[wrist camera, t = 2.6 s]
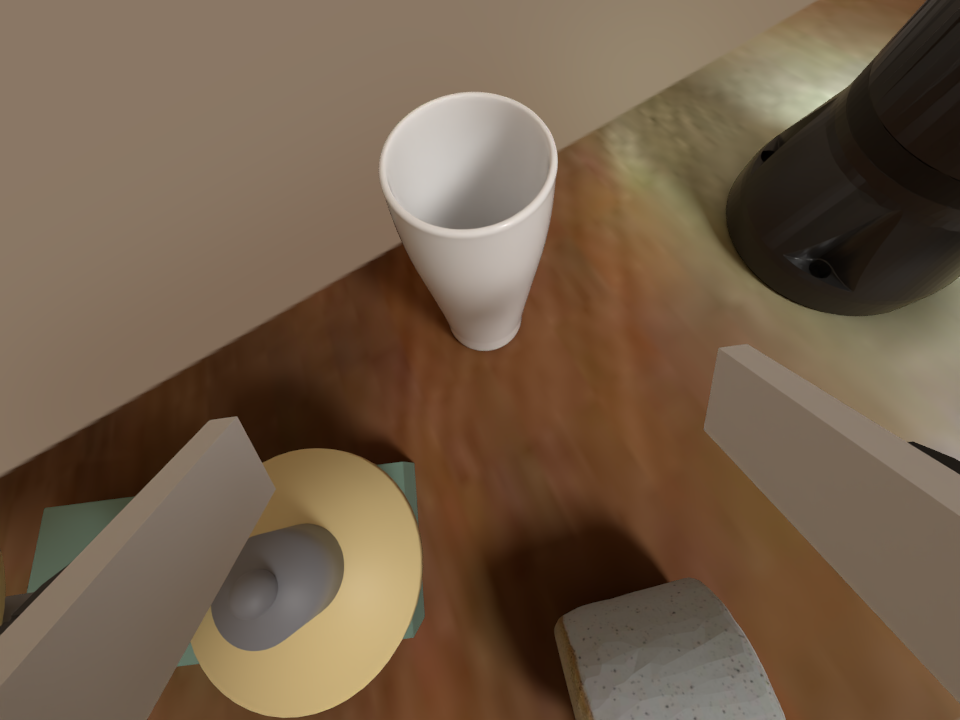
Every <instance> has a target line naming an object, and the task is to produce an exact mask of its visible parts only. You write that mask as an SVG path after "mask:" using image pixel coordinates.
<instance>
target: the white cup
mask: <svg viewBox="0 0 960 720" xmlns="http://www.w3.org/2000/svg"><path fill="white" fill-rule="evenodd" d="M557 166H558V157H557V149H556V145H555V142H554V139H553V137H552V134H551V132H550V131H549V129H548V127H547V126H546V124H545V123H544V122H543V121H542V120H541V118H540V117H539V116H538V115H536V113H534V112H533V111H532V110H531V109H529V108H528V107H526V106H525V105H523V104H521V103H520V102H517V101H515V100H513V99H510V98H508V97H505V96H501V95H498V94H493V93H486V92H462V93H455V94H450V95H446V96H442V97H439V98H436V99H433V100H431V101H429V102H427V103H425V104H423V105H421V106H419V107H417V108H416V109H414V110H413V111H411V112H410V113H409V114H407V115H406V116H405V117H404V118H403V119H402V120H401V121H400V122H399V123H398V124H397V125H396V126H395V128H394V129H393V130H392V132H391V133H390V134H389V136H388V138H387V140H386V142H385V144H384V146H383V149H382V152H381V155H380V160H379V179H380V185H381V188H382V191H383V194H384V196H385V199H386V202H387V205H388V208H389V211H390V214H391V216H392V219H393V222H394V224H395V227H396V229H397V232H398V234H399V237H400V239H401V241H402V243H403V246H404V248H405V250H406V252H407V254H408V256H409V258H410V260H411V262H412V263H413V265H414V267H415V269H416V270H417V272H418V274H419V275H420V277H421V279H422V280H423V282H424V284H425V285H426V287H427V288H428V290H429V292H430V293H431V295H432V296H433V298H434V300H435V301H436V303H437V305H438V306H439V308H440V310H441V311H442V313H443V315H444V316H445V318H446V320H447V321H448V323H449V326H450V329H451V331H452V333H453V334H454V336H455V337H456V338H457V340H458V341H459V342H461V343H462V344H463V345H465V346H467V347H468V348H471V349H474V350H478V351H491V350H495V349H498V348H501V347H503V346H504V345H506V344H507V343H509V342H510V341H511V340H512V339H513V338H514V336H515V335H516V334H517V332H518V330H519V328H520V325H521V320H522V313H523V310H524V307H525V304H526V300H527V297H528V294H529V291H530V288H531V285H532V282H533V279H534V277H535V274H536V271H537V268H538V265H539V262H540V259H541V255H542V252H543V249H544V246H545V242H546V238H547V234H548V229H549V224H550V219H551V214H552V207H553V200H554V192H555V183H556V174H557Z"/></svg>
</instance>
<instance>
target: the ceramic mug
mask: <svg viewBox="0 0 960 720" xmlns="http://www.w3.org/2000/svg"><path fill="white" fill-rule="evenodd" d="M554 635H555V639H556V643H557V647H558V651H559V655H560V659H561V663H562V668H563V672H564V676H565V680H566V684H567V688H568V692H569V695H570V699H571V703H572V707H573V711H574V715H575V720H786V719H785V716H784V713H783V711H782V708H781V706H780V704H779V701H778V699H777V697H776V695H775V693H774V691H773V688H772V686H771V684H770V682H769V679H768V677H767V675H766V672H765V670H764V668H763V666H762V664H761V662H760V660H759V658H758V656H757V654H756V652H755V650H754V649H753V647H752V645H751V644H750V642H749V640H748V639H747V637H746V635H745V634H744V632H743V631H742V629H741V628H740V627H739V625H738V624H737V623H736V621H735V620H734V619H733V617H732V615H731V614H730V612H729V611H728V609H727V608H726V606H725V605H724V604H723V603H722V602H721V600H720V599H719V598H718V597H717V596H716V595H715V594H714V593H713V592H712V591H711V590H710V589H709V588H708V587H706V586H705V585H704V584H703V583H702V582H700V581H699V580H697V579H693V578H684V579H680V580H676V581H673V582H669V583H665V584H662V585H658V586H654V587H651V588H647V589H643V590H639V591H635V592H632V593H629V594H625V595H622V596H619V597H615V598H612V599H608V600H603V601H599V602H594V603H590V604H587V605H583V606H580V607H578V608H576V609H574V610H572V611H570V612H568V613H566V614H565V615H563V616H561V617H560V618H559V619H558V621H557V623H556V625H555V628H554Z"/></svg>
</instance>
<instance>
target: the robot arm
mask: <svg viewBox="0 0 960 720" xmlns="http://www.w3.org/2000/svg"><path fill="white" fill-rule="evenodd" d="M726 215H727V225H728V229H729V233H730V236H731V239H732V241H733V243H734V246H735V247H736V249H737V251H738V253H739V254H740V256H741V258H742V259H743V260H744V262H745V263H746V264H747V266H748V267H749V268H750V269H751V270H752V271H753V272H754V273H755V274H756V275H757V276H758V277H759V278H760V279H761V280H762V281H763V282H765V283H766V284H767V285H768V286H770V287H771V288H772V289H774V290H775V291H777V292H778V293H780V294H782V295H783V296H785V297H787V298H789V299H791V300H793V301H795V302H797V303H799V304H801V305H804V306H806V307H809V308H812V309H815V310H819V311H822V312H827V313H831V314H837V315H846V316H868V315H876V314H882V313H886V312H890V311H893V310H896V309H899V308H901V307H903V306H906V305H908V304H911V303H913V302H915V301H918V300H920V299H923V298H925V297H927V296H930V295H932V294H934V293H936V292H937V291H939V290H941V289H943V288H944V287H946V286H947V285H949V284H950V283H952V282H953V281H954V280H955V279H957V278H958V277H959V276H960V0H927V1H926V2H925V3H924V4H923V5H922V6H921V7H920V8H919V9H918V10H917V12H916V13H915V14H914V15H913V16H912V17H911V18H910V19H909V20H908V21H907V23H906V24H905V25H904V26H903V27H902V28H901V29H900V30H899V31H898V32H897V34H896V35H895V36H894V37H893V38H892V39H891V40H890V41H889V42H888V43H887V45H886V46H885V47H884V48H883V49H882V50H881V51H880V52H879V54H878V55H877V56H876V57H875V58H874V59H873V60H872V61H871V63H870V64H869V65H868V66H867V67H866V68H865V69H864V70H863V71H862V73H861V74H860V75H859V76H858V77H857V78H856V79H855V80H854V81H853V82H852V83H851V84H850V85H849V86H848V87H847V88H845V89H844V90H842V91H841V92H840V93H838V94H837V95H835V96H834V97H832V98H831V99H830V100H828V101H827V102H825V103H824V104H823V105H821V106H820V107H818V108H817V109H815V110H814V111H813V112H811V113H810V114H808V115H807V116H805V117H804V118H803V119H801V120H800V121H798V122H797V123H795V124H794V125H793V126H791V127H790V128H788V129H787V130H785V131H784V132H782V133H781V134H780V135H778V136H777V137H775V138H774V139H773V140H771V141H770V142H769V143H767V144H766V145H765V146H764V147H763V148H762V149H761V150H760V151H759V152H758V153H757V154H756V155H755V156H754V157H753V159H752V160H751V161H750V162H749V164H748V165H747V166H746V167H745V169H744V170H743V171H742V172H741V174H740V175H739V176H738V178H737V179H736V181H735V182H734V184H733V186H732V188H731V190H730V193H729V197H728V201H727V210H726ZM704 430H705V431H706V433H707V434H708V435H709V436H710V437H711V438H712V439H713V440H714V441H715V442H716V443H717V444H718V445H719V446H720V448H721V449H722V450H723V451H724V452H725V453H726V454H727V455H728V456H729V457H730V458H731V459H732V460H733V461H734V463H735V464H736V465H737V466H738V467H739V468H740V469H741V470H742V471H743V472H744V473H745V474H746V475H747V476H748V477H749V479H750V480H751V481H752V482H753V483H754V484H755V485H756V486H757V487H758V488H759V489H760V490H761V491H762V492H763V494H764V495H765V496H766V497H767V498H768V499H769V500H770V501H771V502H772V503H773V504H774V505H775V506H776V507H777V509H778V510H779V511H780V512H781V513H782V514H783V515H784V516H785V517H786V518H787V519H788V520H789V521H790V522H791V523H792V525H793V526H794V527H795V528H796V529H797V530H798V531H799V532H800V533H801V534H802V535H803V536H804V537H805V538H806V540H807V541H808V542H809V543H810V544H811V545H812V546H813V547H814V548H815V549H816V550H817V551H818V552H819V553H820V554H821V556H822V557H823V558H824V559H825V560H826V561H827V562H828V563H829V564H830V565H831V566H832V567H833V568H834V569H835V571H836V572H837V573H838V574H839V575H840V576H841V577H842V578H843V579H844V580H845V581H846V582H847V583H848V584H849V586H850V587H851V588H852V589H853V590H854V591H855V592H856V593H857V594H858V595H859V596H860V597H861V598H862V599H863V600H864V602H865V603H866V604H867V605H868V606H869V607H870V608H871V609H872V610H873V611H874V612H875V613H876V614H877V615H878V617H879V618H880V619H881V620H882V621H883V622H884V623H885V624H886V625H887V626H888V627H889V628H890V629H891V630H892V632H893V633H894V634H895V635H896V636H897V637H898V638H899V639H900V640H901V641H902V642H903V643H904V644H905V645H906V646H907V648H908V649H909V650H910V651H911V652H912V653H913V654H914V655H915V656H916V657H917V658H918V659H919V660H920V661H921V663H922V664H923V665H924V666H925V667H926V668H927V669H928V670H929V671H930V672H931V673H932V674H933V675H934V676H935V678H936V679H937V680H938V681H939V682H940V683H941V684H942V685H943V686H944V687H945V688H946V689H947V690H948V691H949V692H950V694H951V695H952V696H953V697H954V698H955V699H956V700H957V701H958V702H959V703H960V461H958V460H956V459H955V458H952V457H950V456H947V455H945V454H942V453H940V452H938V451H935V450H933V449H930V448H928V447H925V446H923V445H920V444H918V443H915V442H906V441H904V440H903V439H901V438H899V437H898V436H896V435H894V434H893V433H891V432H890V431H888V430H886V429H885V428H883V427H881V426H880V425H878V424H877V423H875V422H873V421H872V420H870V419H868V418H867V417H865V416H864V415H862V414H860V413H859V412H857V411H855V410H854V409H852V408H851V407H849V406H847V405H846V404H844V403H842V402H841V401H839V400H838V399H836V398H834V397H833V396H831V395H829V394H828V393H826V392H824V391H823V390H821V389H820V388H818V387H816V386H815V385H813V384H811V383H810V382H808V381H807V380H805V379H803V378H802V377H800V376H798V375H797V374H795V373H794V372H792V371H790V370H789V369H787V368H785V367H784V366H782V365H781V364H779V363H777V362H776V361H774V360H772V359H771V358H769V357H768V356H766V355H764V354H763V353H761V352H759V351H758V350H756V349H755V348H753V347H751V346H750V345H748V344H743V345H736V346H729V347H722V348H718V354H717V359H716V365H715V370H714V376H713V381H712V387H711V392H710V398H709V403H708V408H707V414H706V419H705V425H704ZM275 490H276V488H275V486H274V485H273V483H272V481H271V479H270V477H269V475H268V473H267V471H266V469H265V468H264V466H263V464H262V462H261V460H260V458H259V456H258V454H257V453H256V451H255V449H254V447H253V445H252V443H251V441H250V439H249V438H248V436H247V434H246V432H245V430H244V428H243V426H242V424H241V423H240V421H239V419H238V417H237V416H235V417H228V418H221V419H214V420H209V421H208V422H207V423H206V424H205V425H204V426H203V427H202V428H201V429H200V430H199V432H198V433H197V434H196V435H195V436H194V437H193V438H192V439H191V440H190V441H189V442H188V443H187V444H186V445H185V446H184V447H183V448H182V449H181V450H180V451H179V452H178V453H177V454H176V455H175V456H174V457H173V458H172V459H171V460H170V461H169V462H168V463H167V464H166V465H165V466H164V468H163V469H162V470H161V471H160V472H159V473H158V474H157V475H156V476H155V477H154V478H153V479H152V480H151V481H150V482H149V483H148V484H147V485H146V486H145V487H144V488H143V489H142V490H141V491H140V492H139V493H138V494H137V495H136V496H135V497H134V498H133V499H132V500H131V501H130V502H129V504H128V505H127V506H126V507H125V508H124V509H123V510H122V511H121V512H120V513H119V514H118V515H117V516H116V517H115V518H114V519H113V520H112V521H111V522H110V523H109V524H108V525H107V526H106V527H105V528H104V529H103V530H102V531H101V532H100V533H99V534H98V535H97V536H96V537H95V538H94V540H93V541H92V542H91V543H90V544H89V545H88V546H87V547H86V548H85V549H84V550H83V551H82V552H81V553H80V554H79V555H78V556H77V557H76V558H75V559H74V560H73V561H72V562H71V563H70V564H68V565H67V566H66V567H64V568H63V569H62V570H60V571H59V572H58V573H57V574H55V575H54V576H53V577H51V578H50V579H49V580H47V581H46V582H45V583H43V584H42V585H41V586H40V587H39V588H38V589H37V590H36V591H35V592H34V593H33V594H32V595H31V596H30V597H29V598H28V599H27V600H26V601H25V602H24V603H23V604H22V605H21V606H20V607H19V608H18V609H17V610H16V611H15V612H14V613H13V614H12V615H11V620H10V621H9V622H4V623H3V624H2V625H1V626H0V720H147V718H148V717H149V715H150V713H151V711H152V709H153V708H154V706H155V704H156V702H157V700H158V699H159V697H160V695H161V693H162V692H163V690H164V688H165V686H166V684H167V683H168V681H169V679H170V677H171V675H172V674H173V672H174V670H175V668H176V667H177V665H178V663H179V661H180V659H181V658H182V656H183V654H184V652H185V650H186V649H187V647H188V645H189V643H190V642H191V640H192V638H193V636H194V634H195V633H196V631H197V629H198V627H199V625H200V624H201V622H202V620H203V618H204V617H205V615H206V613H207V611H208V609H209V608H210V606H211V604H212V602H213V600H214V599H215V597H216V595H217V593H218V592H219V590H220V588H221V586H222V584H223V583H224V581H225V579H226V577H227V575H228V574H229V572H230V570H231V568H232V567H233V565H234V563H235V561H236V559H237V558H238V556H239V554H240V552H241V550H242V549H243V547H244V545H245V543H246V542H247V540H248V538H249V536H250V534H251V533H252V531H253V529H254V527H255V525H256V524H257V522H258V520H259V518H260V517H261V515H262V513H263V511H264V509H265V508H266V506H267V504H268V502H269V500H270V499H271V497H272V495H273V493H274V492H275Z"/></svg>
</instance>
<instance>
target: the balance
mask: <svg viewBox="0 0 960 720" xmlns="http://www.w3.org/2000/svg"><path fill="white" fill-rule="evenodd" d="M262 464H263V466H264V468H265V469H266V471H267V473H268V475H269V477H270V479H271V481H272V483H273V485H274V486H275V488H276V490H275V492H274V493H273V495H272V497H271V499H270V500H269V502H268V504H267V506H266V508H265V509H264V511H263V513H262V515H261V517H260V518H259V520H258V522H257V524H256V525H255V527H254V529H253V531H252V533H251V534H250V536H249V538H248V540H247V542H246V543H245V545H244V547H243V549H242V550H241V552H240V554H239V556H238V558H237V559H236V561H235V563H234V565H233V567H232V568H231V570H230V572H229V574H228V575H227V577H226V579H225V581H224V583H223V584H222V586H221V588H220V590H219V592H218V593H217V595H216V597H215V599H214V600H213V602H212V604H211V606H210V608H209V609H208V611H207V613H206V615H205V617H204V618H203V620H202V622H201V624H200V625H199V627H198V629H197V631H196V633H195V634H194V636H193V638H192V640H191V642H190V643H189V645H188V647H187V649H186V650H185V652H184V654H183V656H182V658H181V659H180V661H179V663H178V665H177V666H184V665H192V664H200V666H201V668H202V669H203V671H204V672H205V673H206V675H207V676H208V678H209V679H210V681H211V682H212V683H213V684H214V685H215V686H216V687H217V688H218V689H219V690H220V691H221V692H222V693H223V694H224V695H225V696H227V697H228V698H229V699H231V700H232V701H233V702H235V703H236V704H238V705H240V706H242V707H244V708H246V709H248V710H250V711H253V712H256V713H259V714H263V715H266V716H274V717H281V718H286V717H302V716H307V715H312V714H316V713H319V712H322V711H325V710H327V709H330V708H333V707H335V706H336V705H338V704H340V703H342V702H344V701H346V700H348V699H349V698H351V697H352V696H353V695H355V694H356V693H357V692H359V691H360V690H361V689H363V688H364V687H365V686H366V685H367V684H368V683H369V682H370V681H371V680H372V679H373V678H374V677H376V676H377V674H378V673H379V672H380V671H381V670H382V668H383V667H384V666H385V665H386V663H387V662H388V661H389V660H390V658H391V656H392V655H393V653H394V652H395V650H396V649H397V647H398V645H399V644H400V642H401V640H402V639H406V638H414V636H415V634H416V632H417V630H418V628H419V626H420V625H421V623H422V621H423V619H424V617H425V614H424V599H423V585H422V575H423V549H422V541H421V535H420V531H419V526H418V512H417V497H416V483H415V468H414V463H410V462H396V463H389V464H381V465H376V464H374V463H372V462H370V461H368V460H367V459H365V458H363V457H360V456H358V455H355V454H352V453H349V452H344V451H340V450H334V449H323V448H311V449H301V450H296V451H291V452H287V453H284V454H281V455H278V456H275V457H273V458H271V459H269V460H267V461H265V462H263V463H262ZM134 497H135V496H134ZM134 497H126V498H119V499H111V500H103V501H96V502H88V503H80V504H72V505H65V506H57V507H49V508H44V512H43V517H42V522H41V527H40V531H39V536H38V541H37V546H36V551H35V556H34V561H33V565H32V570H31V575H30V580H29V585H28V590H27V593H26V594H20V595H14V596H8V597H5V590H6V584H5V570H4V563H3V558H2V554H1V549H0V626H1V625H2V624H3V623H4V622H9V621H10V620H11V615H12V614H13V613H14V612H15V611H16V610H17V609H18V608H19V607H20V606H21V605H22V604H23V603H24V602H25V601H26V600H27V599H28V598H29V597H30V596H31V595H32V594H33V593H34V592H35V591H36V590H37V589H38V588H39V587H40V586H41V585H42V584H43V583H45V582H46V581H47V580H49V579H50V578H51V577H53V576H54V575H55V574H57V573H58V572H59V571H60V570H62V569H63V568H64V567H66V566H67V565H68V564H70V563H71V562H72V561H73V560H74V559H75V558H76V557H77V556H78V555H79V554H80V553H81V552H82V551H83V550H84V549H85V548H86V547H87V546H88V545H89V544H90V543H91V542H92V541H93V540H94V538H95V537H96V536H97V535H98V534H99V533H100V532H101V531H102V530H103V529H104V528H105V527H106V526H107V525H108V524H109V523H110V522H111V521H112V520H113V519H114V518H115V517H116V516H117V515H118V514H119V513H120V512H121V511H122V510H123V509H124V508H125V507H126V506H127V505H128V504H129V502H130V501H131V500H132V499H133V498H134Z"/></svg>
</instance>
